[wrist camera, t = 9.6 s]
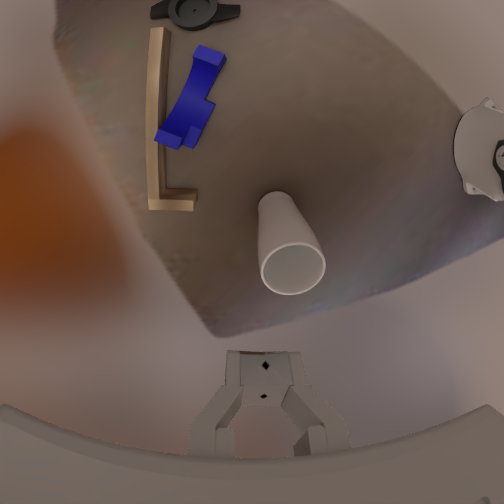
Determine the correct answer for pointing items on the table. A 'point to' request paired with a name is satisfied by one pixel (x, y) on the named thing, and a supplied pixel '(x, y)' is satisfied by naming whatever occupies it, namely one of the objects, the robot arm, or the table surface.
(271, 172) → the table surface
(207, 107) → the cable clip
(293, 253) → the drinking glass
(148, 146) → the bar
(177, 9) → the black winged round fixture
